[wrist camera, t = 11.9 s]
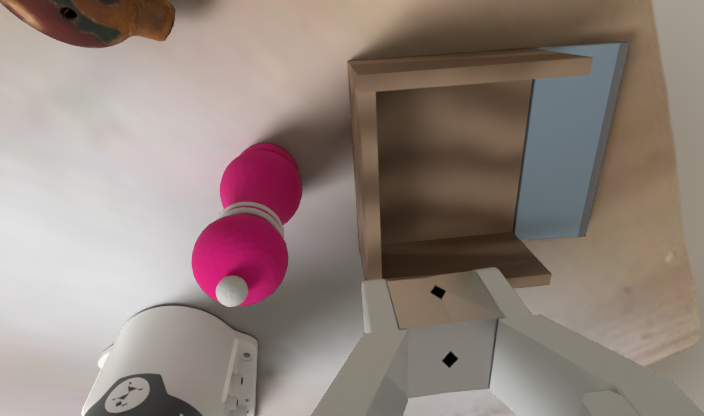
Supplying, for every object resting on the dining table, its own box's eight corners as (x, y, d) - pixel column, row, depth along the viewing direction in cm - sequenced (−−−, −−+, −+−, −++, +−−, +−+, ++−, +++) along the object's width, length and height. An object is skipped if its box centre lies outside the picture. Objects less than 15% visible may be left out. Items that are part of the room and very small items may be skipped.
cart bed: (505, 234, 46) (549, 284, 37) (359, 249, 45) (370, 303, 36) (528, 47, 37) (593, 57, 28) (347, 61, 36) (357, 75, 27)
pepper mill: (311, 196, 41) (309, 333, 24) (244, 212, 42) (191, 361, 24) (291, 130, 38) (272, 230, 20) (219, 147, 38) (136, 263, 20)
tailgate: (509, 235, 45) (579, 230, 45) (513, 241, 44) (585, 236, 44) (533, 47, 37) (620, 41, 37) (540, 48, 35) (629, 42, 35)
